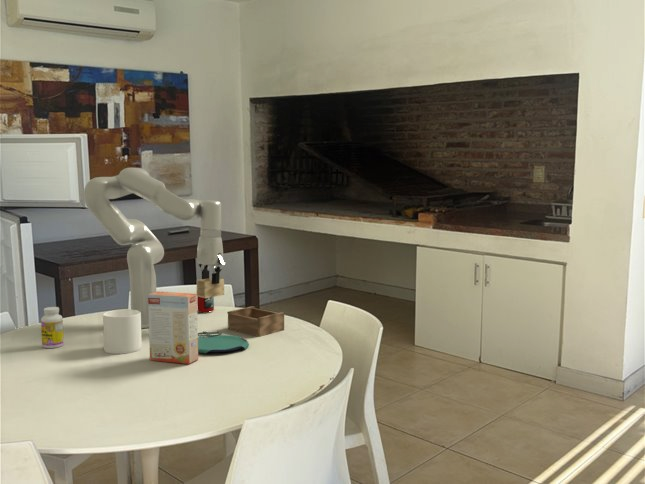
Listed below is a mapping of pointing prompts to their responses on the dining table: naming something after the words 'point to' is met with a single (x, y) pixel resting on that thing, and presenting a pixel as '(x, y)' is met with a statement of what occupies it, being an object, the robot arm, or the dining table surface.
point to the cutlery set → (220, 342)
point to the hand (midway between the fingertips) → (210, 282)
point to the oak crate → (209, 288)
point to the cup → (122, 331)
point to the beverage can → (205, 304)
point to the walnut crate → (255, 321)
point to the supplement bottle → (52, 328)
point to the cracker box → (173, 327)
